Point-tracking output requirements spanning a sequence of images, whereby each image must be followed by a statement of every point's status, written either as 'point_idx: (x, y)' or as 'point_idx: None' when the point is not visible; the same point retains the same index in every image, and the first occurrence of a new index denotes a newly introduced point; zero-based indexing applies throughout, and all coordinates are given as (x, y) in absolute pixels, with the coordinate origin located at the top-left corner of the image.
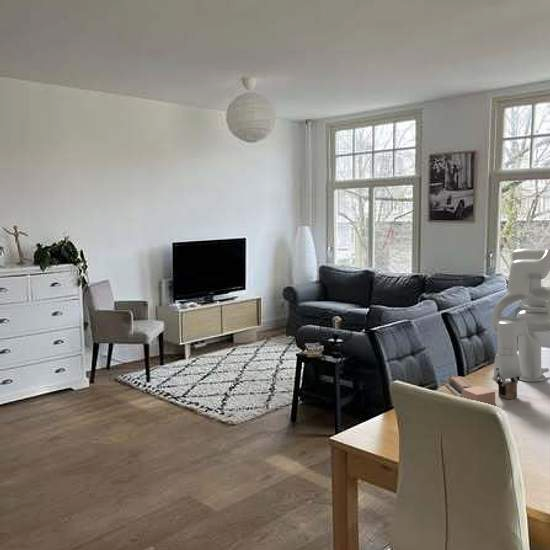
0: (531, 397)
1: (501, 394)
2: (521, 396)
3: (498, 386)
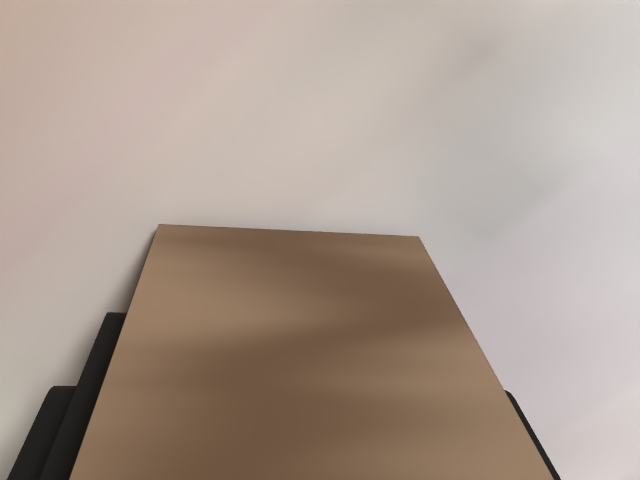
0: (567, 469)
1: None
2: (507, 389)
3: (106, 373)
